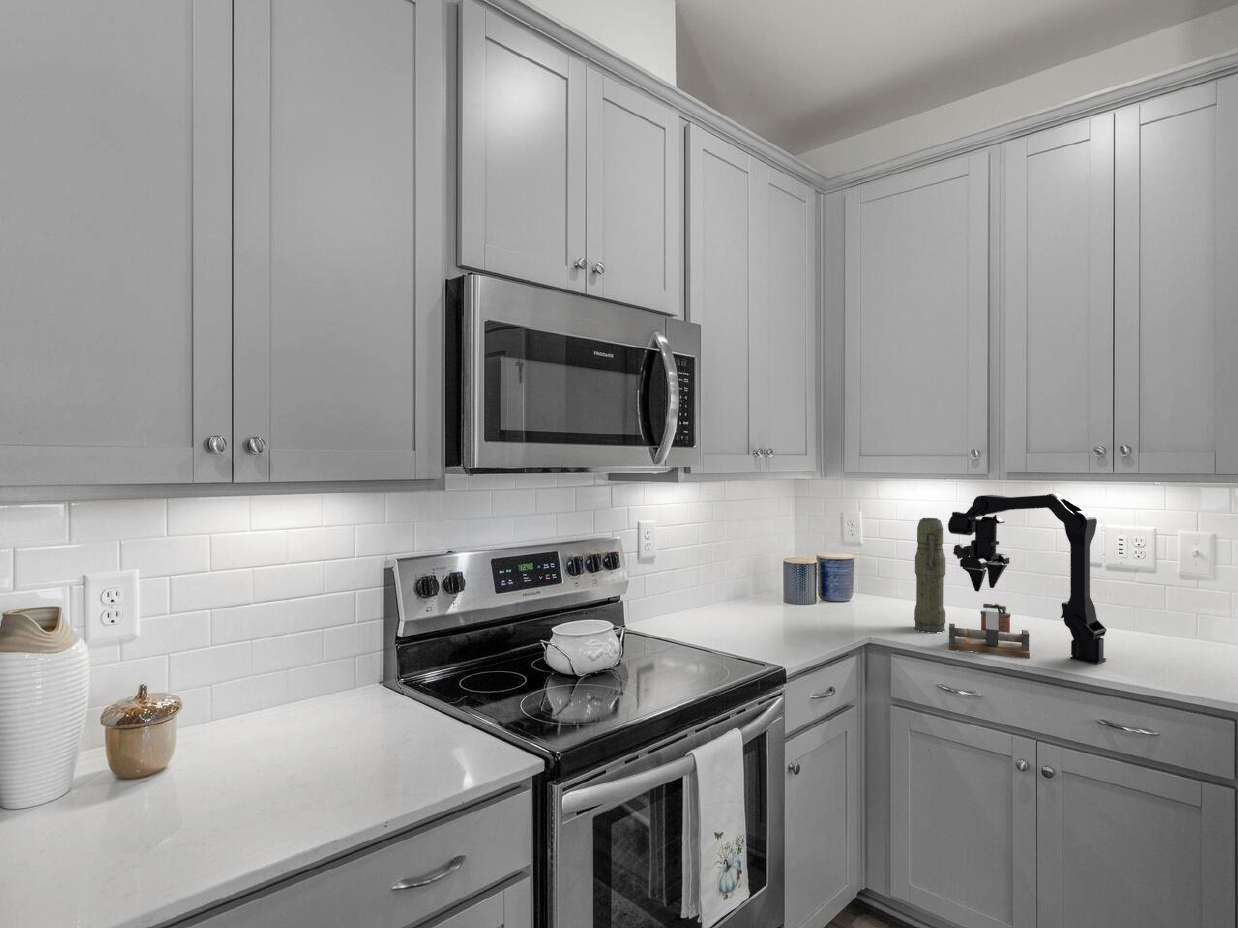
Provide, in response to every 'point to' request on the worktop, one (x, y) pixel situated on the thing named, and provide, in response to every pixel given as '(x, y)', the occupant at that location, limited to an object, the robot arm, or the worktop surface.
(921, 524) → the thermos
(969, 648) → the pipe stand
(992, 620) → the white slider block
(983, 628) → the lighter
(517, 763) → the worktop surface
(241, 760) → the worktop surface
